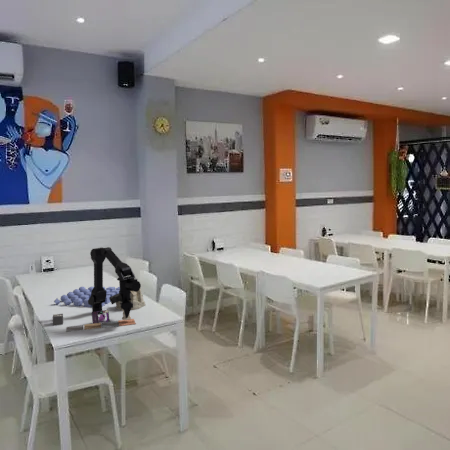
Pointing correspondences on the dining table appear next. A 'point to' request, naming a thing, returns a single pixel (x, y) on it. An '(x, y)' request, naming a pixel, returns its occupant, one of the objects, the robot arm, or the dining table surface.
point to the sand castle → (134, 300)
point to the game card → (102, 317)
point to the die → (57, 319)
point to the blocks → (85, 296)
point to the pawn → (125, 317)
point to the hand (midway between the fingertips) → (126, 316)
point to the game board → (98, 325)
